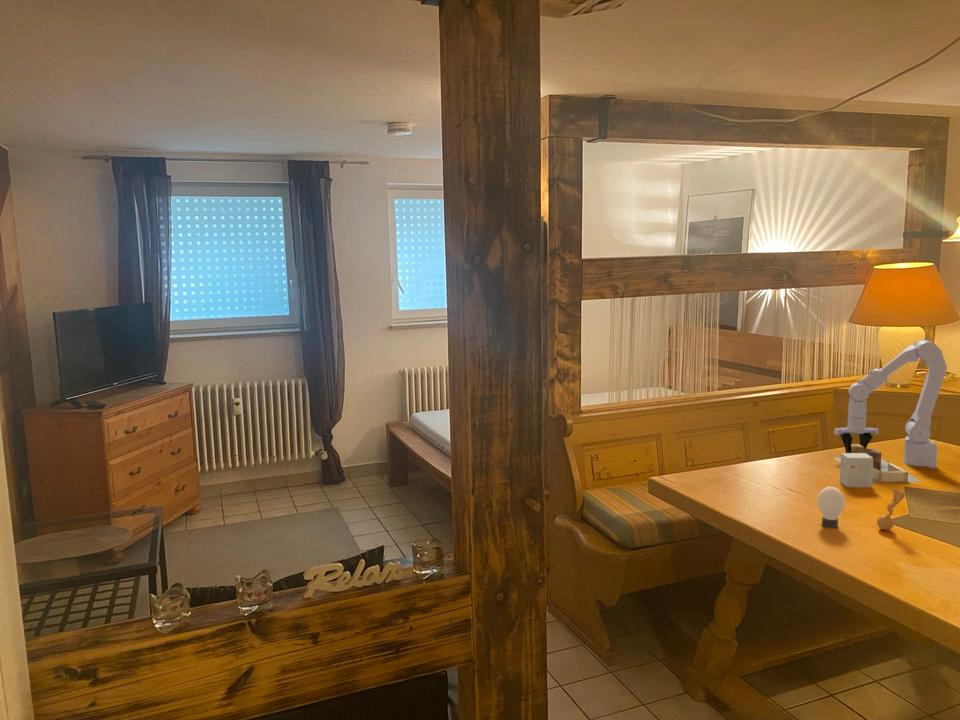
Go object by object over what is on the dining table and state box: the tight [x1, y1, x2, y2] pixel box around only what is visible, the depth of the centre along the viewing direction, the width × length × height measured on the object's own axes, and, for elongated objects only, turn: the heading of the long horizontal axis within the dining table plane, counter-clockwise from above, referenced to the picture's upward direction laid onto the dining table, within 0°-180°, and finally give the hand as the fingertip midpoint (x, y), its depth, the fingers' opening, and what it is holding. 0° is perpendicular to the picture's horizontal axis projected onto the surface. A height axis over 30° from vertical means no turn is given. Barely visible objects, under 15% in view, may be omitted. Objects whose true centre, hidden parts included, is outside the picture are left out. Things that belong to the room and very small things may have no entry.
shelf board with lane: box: [833, 457, 922, 483], centre depth 242 cm, size 16×28×4 cm, turn 177°
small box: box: [839, 452, 873, 488], centre depth 226 cm, size 8×6×10 cm
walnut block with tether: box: [851, 443, 882, 470], centre depth 249 cm, size 5×15×6 cm, turn 177°
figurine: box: [876, 488, 905, 531], centre depth 190 cm, size 8×6×12 cm
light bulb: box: [817, 486, 846, 528], centre depth 195 cm, size 7×7×11 cm
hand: (855, 453), depth 255 cm, fingers open, 4 cm apart
